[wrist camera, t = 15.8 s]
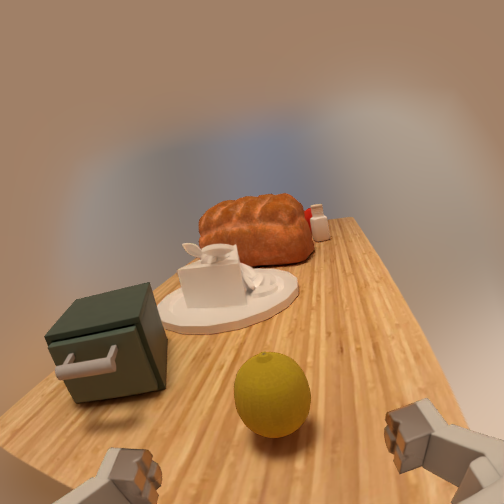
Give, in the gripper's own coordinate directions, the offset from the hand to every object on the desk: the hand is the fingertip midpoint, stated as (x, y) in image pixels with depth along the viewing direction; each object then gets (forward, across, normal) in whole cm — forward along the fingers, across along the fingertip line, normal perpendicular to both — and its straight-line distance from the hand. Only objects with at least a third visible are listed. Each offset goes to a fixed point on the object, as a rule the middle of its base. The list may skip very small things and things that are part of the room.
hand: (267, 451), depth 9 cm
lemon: (+11, 0, +11) cm, 16 cm away
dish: (+44, +6, +11) cm, 46 cm away
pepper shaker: (+75, -18, +11) cm, 78 cm away
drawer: (+21, +18, +10) cm, 29 cm away
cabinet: (+25, +19, +11) cm, 33 cm away
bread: (+66, 0, +11) cm, 67 cm away
